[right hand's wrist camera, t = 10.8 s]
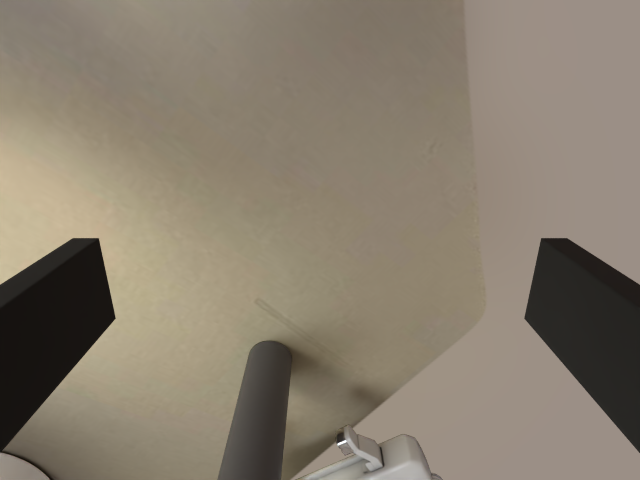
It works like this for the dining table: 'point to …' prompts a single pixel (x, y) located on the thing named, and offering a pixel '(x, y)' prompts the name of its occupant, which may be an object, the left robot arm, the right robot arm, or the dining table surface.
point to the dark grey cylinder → (259, 416)
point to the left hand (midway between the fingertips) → (299, 451)
